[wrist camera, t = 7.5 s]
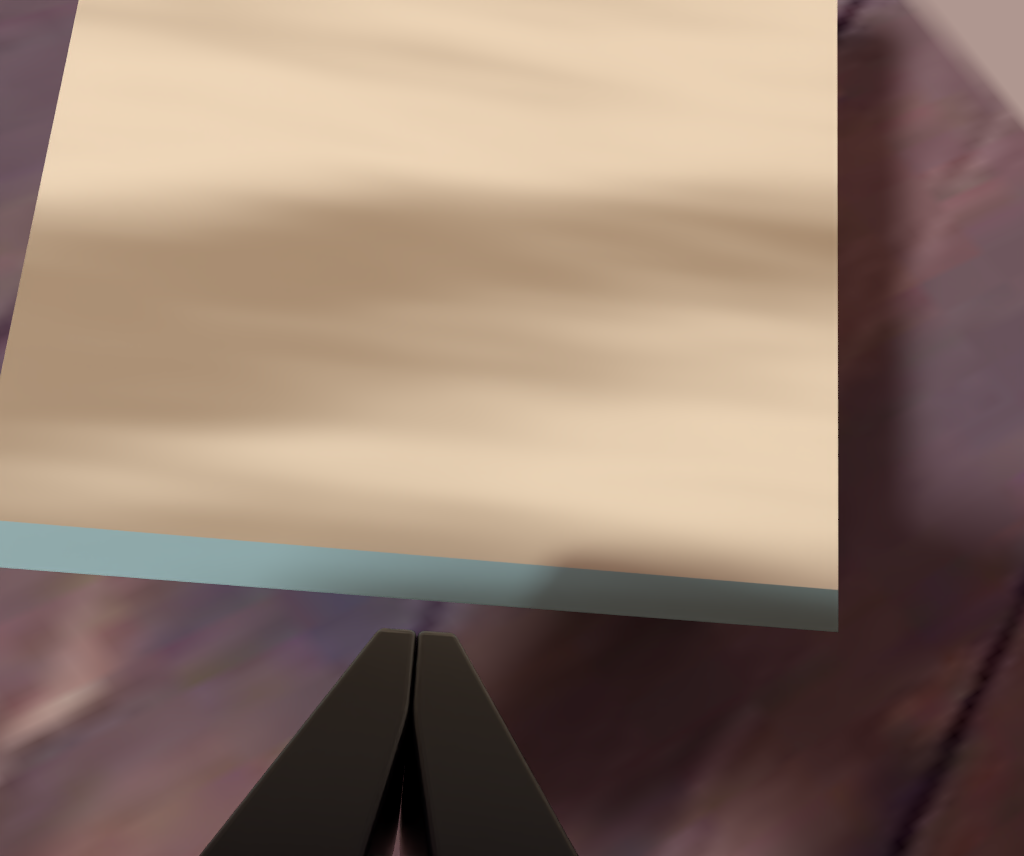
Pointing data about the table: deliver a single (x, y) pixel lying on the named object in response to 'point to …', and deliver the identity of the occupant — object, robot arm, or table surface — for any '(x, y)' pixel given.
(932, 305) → the table surface
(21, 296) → the birch block
